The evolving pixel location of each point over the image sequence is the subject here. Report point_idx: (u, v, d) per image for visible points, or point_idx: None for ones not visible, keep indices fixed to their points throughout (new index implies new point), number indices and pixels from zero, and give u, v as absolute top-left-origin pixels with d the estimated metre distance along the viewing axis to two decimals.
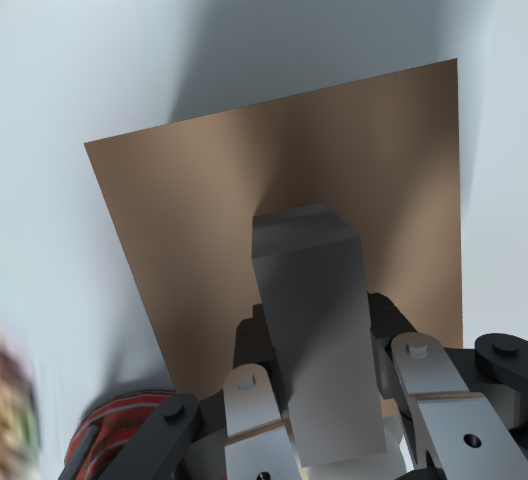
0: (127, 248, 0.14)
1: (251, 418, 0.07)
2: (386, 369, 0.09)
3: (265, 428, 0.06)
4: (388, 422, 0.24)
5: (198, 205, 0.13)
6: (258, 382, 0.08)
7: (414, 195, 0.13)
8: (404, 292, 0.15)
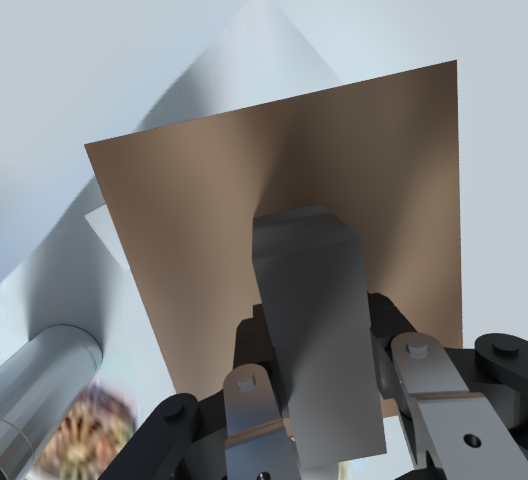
0: (127, 249, 0.14)
1: (251, 418, 0.07)
2: (386, 369, 0.09)
3: (265, 428, 0.06)
4: None
5: (198, 206, 0.13)
6: (258, 382, 0.08)
7: (414, 196, 0.13)
8: (404, 293, 0.15)
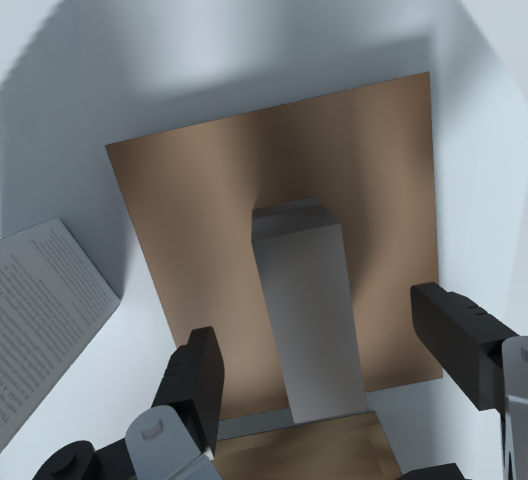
0: (141, 237, 0.15)
1: (166, 465, 0.06)
2: (487, 377, 0.08)
3: (187, 467, 0.06)
4: None
5: (204, 199, 0.15)
6: (163, 429, 0.07)
7: (394, 190, 0.15)
8: (387, 277, 0.16)
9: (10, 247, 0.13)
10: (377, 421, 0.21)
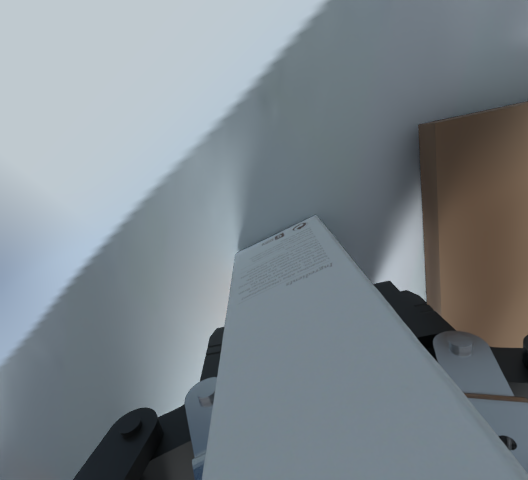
0: (444, 239, 0.12)
1: None
2: None
3: None
4: None
5: None
6: None
7: None
8: None
9: None
10: None
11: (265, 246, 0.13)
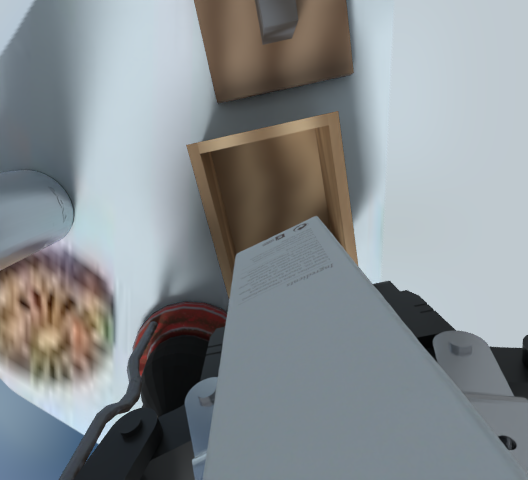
0: None
1: None
2: None
3: None
4: None
5: None
6: None
7: None
8: None
9: None
10: None
11: (266, 247, 0.13)
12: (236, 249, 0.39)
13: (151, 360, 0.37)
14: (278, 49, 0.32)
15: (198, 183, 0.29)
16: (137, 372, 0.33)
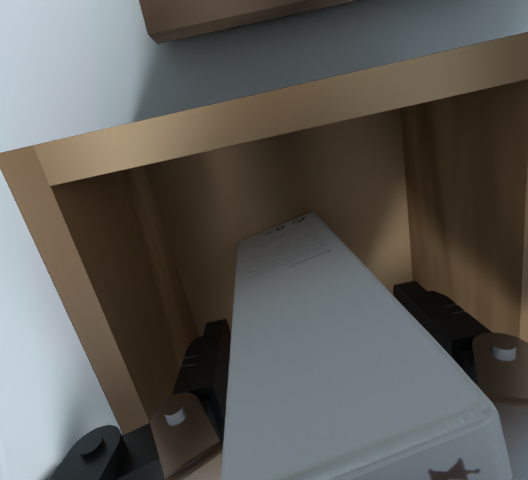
0: None
1: (187, 450, 0.07)
2: None
3: (206, 454, 0.06)
4: None
5: None
6: (186, 414, 0.07)
7: None
8: None
9: None
10: None
11: (267, 236, 0.14)
12: None
13: None
14: None
15: (58, 284, 0.09)
16: None
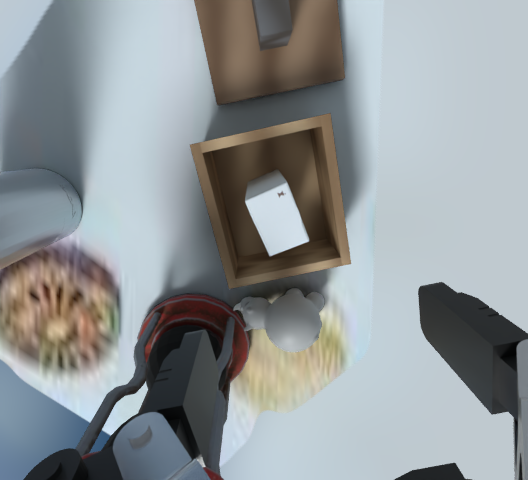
0: None
1: (156, 473, 0.06)
2: (500, 380, 0.08)
3: (178, 474, 0.06)
4: (312, 298, 0.41)
5: None
6: (151, 437, 0.07)
7: None
8: (312, 7, 0.33)
9: None
10: None
11: (258, 177, 0.37)
12: (236, 243, 0.41)
13: (156, 348, 0.39)
14: (274, 55, 0.34)
15: (200, 180, 0.32)
16: (143, 358, 0.35)
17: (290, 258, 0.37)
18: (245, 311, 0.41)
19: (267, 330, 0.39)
